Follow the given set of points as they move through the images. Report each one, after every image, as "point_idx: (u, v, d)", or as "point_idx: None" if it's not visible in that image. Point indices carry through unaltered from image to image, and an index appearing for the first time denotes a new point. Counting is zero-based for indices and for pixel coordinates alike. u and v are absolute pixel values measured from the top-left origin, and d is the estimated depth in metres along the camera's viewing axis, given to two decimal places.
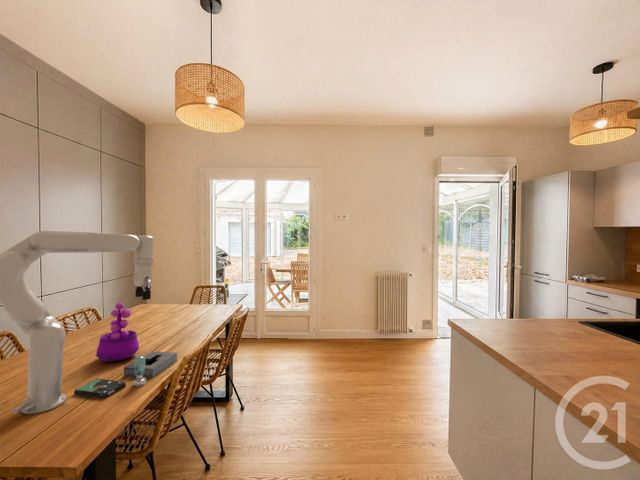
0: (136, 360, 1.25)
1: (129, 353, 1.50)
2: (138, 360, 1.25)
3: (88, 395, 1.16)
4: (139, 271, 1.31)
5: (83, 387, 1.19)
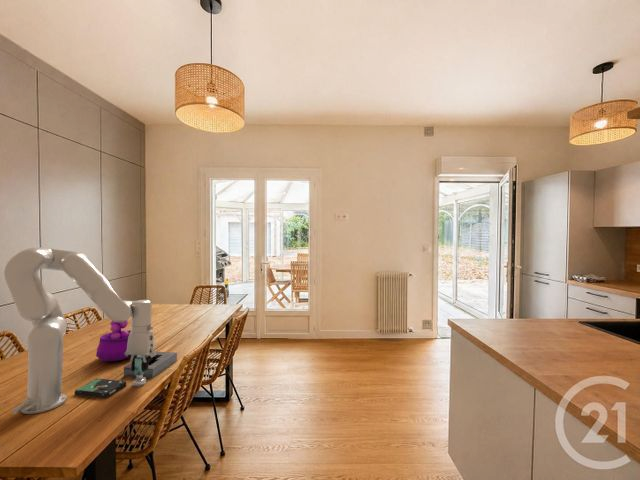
0: (136, 360, 1.25)
1: None
2: (138, 360, 1.25)
3: (89, 395, 1.16)
4: None
5: (83, 387, 1.19)
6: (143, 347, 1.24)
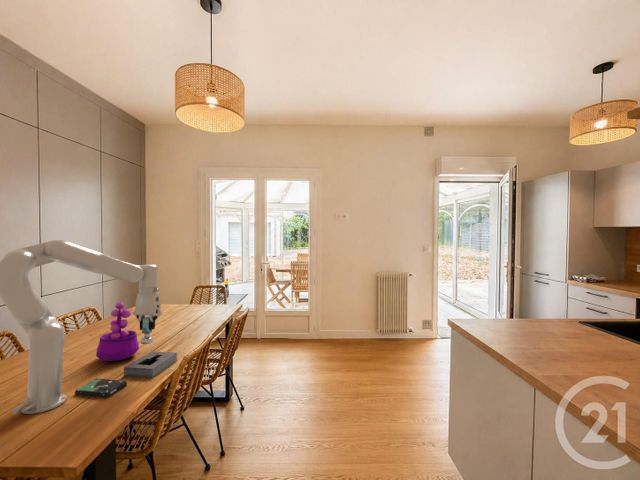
0: (144, 319, 1.34)
1: (129, 353, 1.50)
2: (145, 319, 1.34)
3: (90, 395, 1.16)
4: None
5: (84, 387, 1.19)
6: (150, 307, 1.33)
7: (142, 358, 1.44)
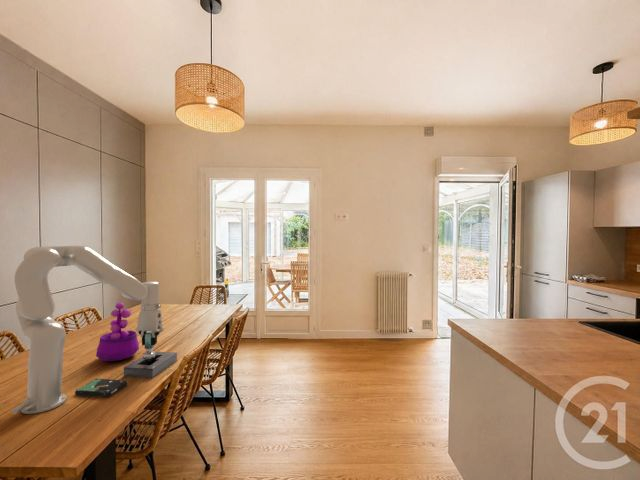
0: (146, 335, 1.38)
1: (129, 353, 1.50)
2: (147, 335, 1.38)
3: (90, 395, 1.16)
4: None
5: (84, 387, 1.19)
6: (152, 323, 1.38)
7: (142, 358, 1.44)
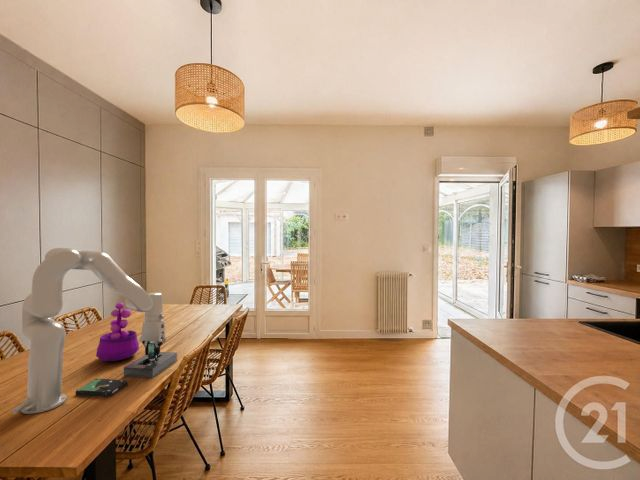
0: (149, 345, 1.41)
1: (129, 353, 1.50)
2: (151, 345, 1.41)
3: (91, 395, 1.16)
4: None
5: (84, 387, 1.19)
6: (155, 334, 1.41)
7: (142, 358, 1.44)
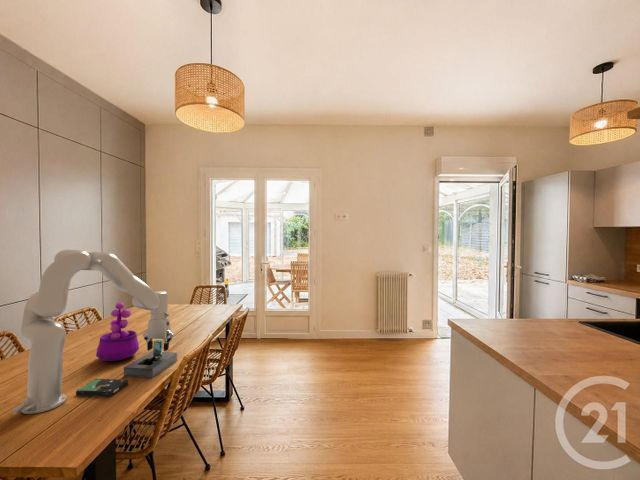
0: (155, 343, 1.45)
1: (129, 353, 1.50)
2: (156, 343, 1.45)
3: (92, 394, 1.16)
4: None
5: (85, 387, 1.19)
6: (161, 331, 1.45)
7: (142, 358, 1.44)
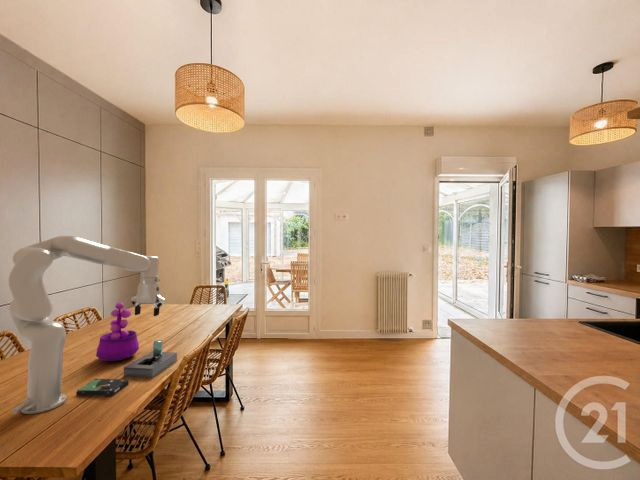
0: (155, 343, 1.45)
1: (129, 353, 1.50)
2: (156, 343, 1.45)
3: (93, 394, 1.16)
4: None
5: (85, 387, 1.19)
6: (150, 296, 1.41)
7: (142, 358, 1.44)
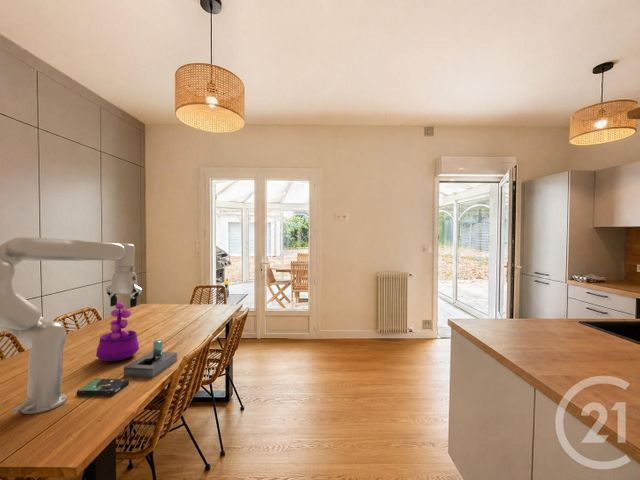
0: (155, 343, 1.45)
1: (129, 353, 1.50)
2: (156, 343, 1.45)
3: (93, 394, 1.16)
4: None
5: (85, 387, 1.19)
6: (126, 286, 1.33)
7: (142, 358, 1.44)
